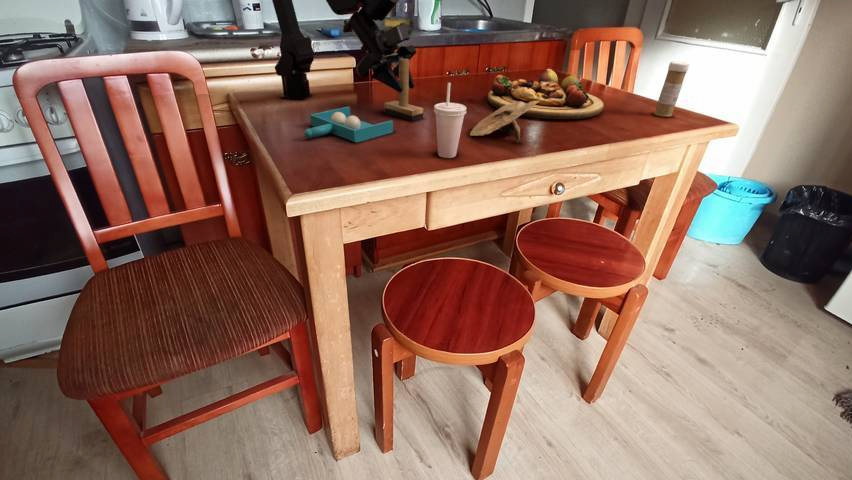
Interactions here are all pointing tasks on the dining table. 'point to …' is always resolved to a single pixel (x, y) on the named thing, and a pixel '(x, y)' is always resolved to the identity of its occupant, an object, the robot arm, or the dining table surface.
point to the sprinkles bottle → (671, 88)
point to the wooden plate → (546, 96)
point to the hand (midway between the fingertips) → (407, 89)
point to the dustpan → (363, 133)
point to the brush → (403, 97)
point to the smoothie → (448, 126)
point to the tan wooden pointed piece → (503, 119)
